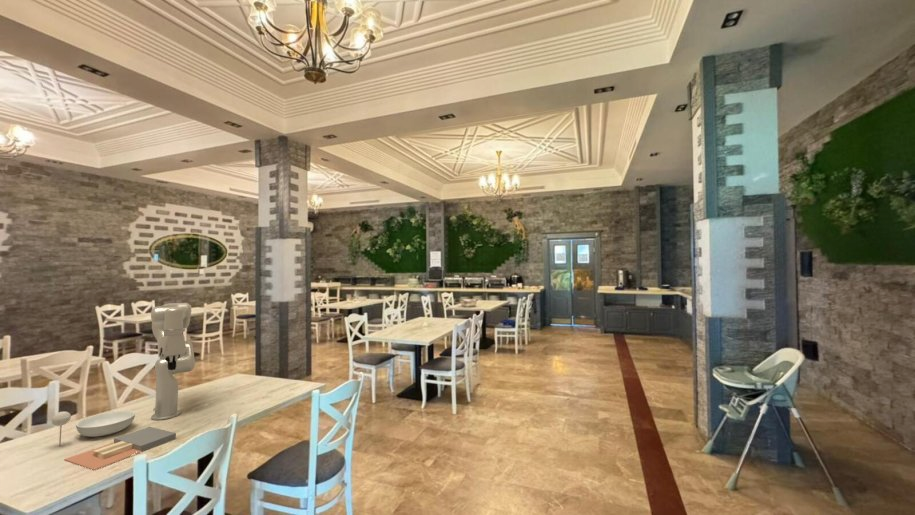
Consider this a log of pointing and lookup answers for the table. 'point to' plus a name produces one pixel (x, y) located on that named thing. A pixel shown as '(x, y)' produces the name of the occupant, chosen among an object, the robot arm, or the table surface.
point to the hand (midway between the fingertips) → (171, 369)
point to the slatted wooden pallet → (112, 450)
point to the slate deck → (146, 438)
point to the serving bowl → (105, 423)
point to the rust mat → (95, 462)
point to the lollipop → (61, 421)
